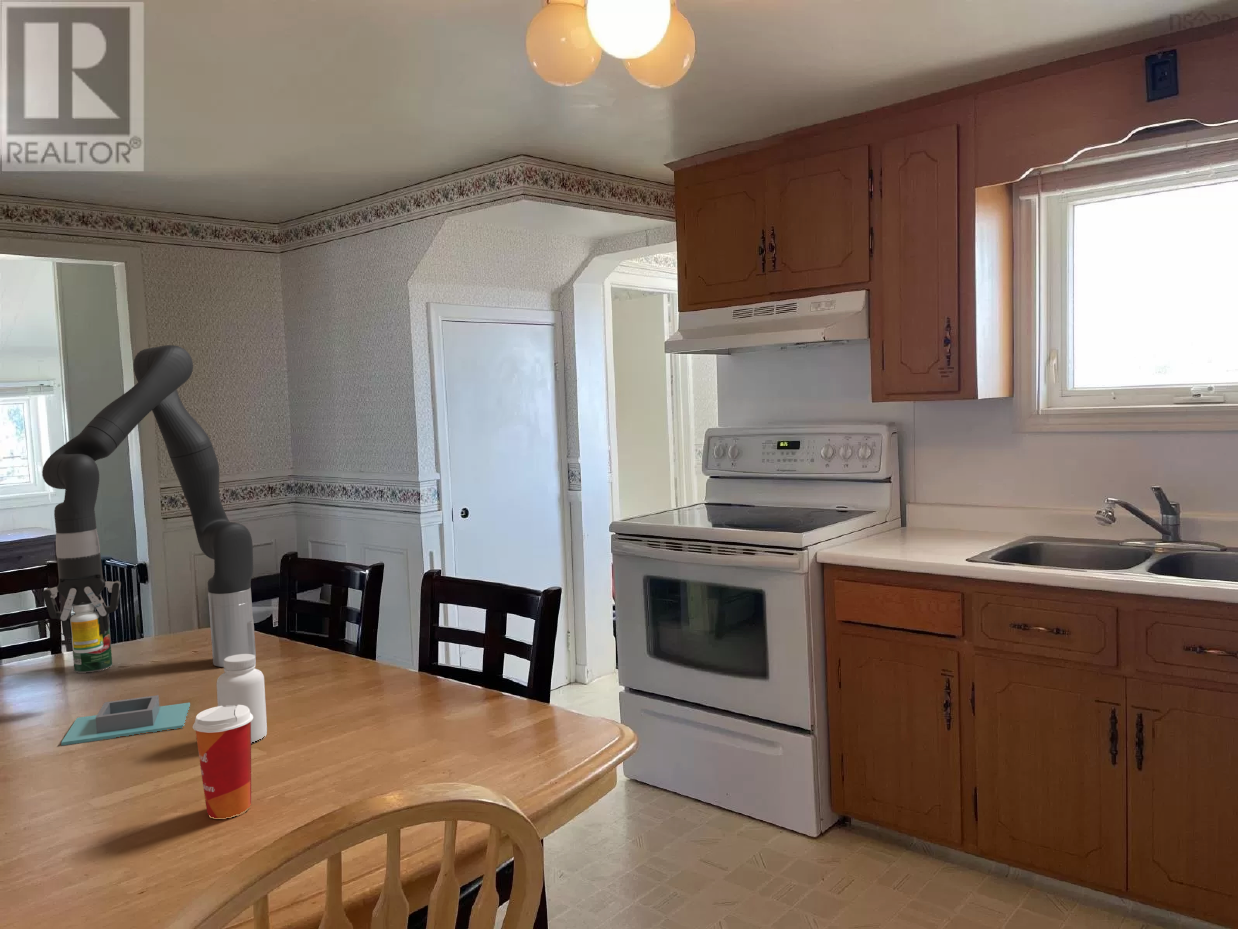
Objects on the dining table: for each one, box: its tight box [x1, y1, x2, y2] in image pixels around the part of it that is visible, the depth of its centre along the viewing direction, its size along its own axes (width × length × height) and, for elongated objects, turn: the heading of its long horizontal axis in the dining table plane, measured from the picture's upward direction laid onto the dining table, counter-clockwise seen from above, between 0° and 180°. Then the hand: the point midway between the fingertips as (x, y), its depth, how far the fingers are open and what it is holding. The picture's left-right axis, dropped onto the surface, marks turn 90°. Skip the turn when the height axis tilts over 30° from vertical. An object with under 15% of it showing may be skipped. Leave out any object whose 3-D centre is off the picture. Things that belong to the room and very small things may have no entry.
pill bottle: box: [216, 654, 268, 744], centre depth 165 cm, size 8×8×15 cm
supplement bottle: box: [70, 602, 103, 653], centre depth 184 cm, size 5×5×10 cm
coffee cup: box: [192, 705, 253, 818], centre depth 135 cm, size 8×8×15 cm
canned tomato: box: [71, 628, 114, 674], centre depth 213 cm, size 8×8×11 cm
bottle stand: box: [61, 694, 191, 747], centre depth 175 cm, size 20×14×4 cm
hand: (86, 635), depth 185 cm, fingers closed on supplement bottle, 5 cm apart
